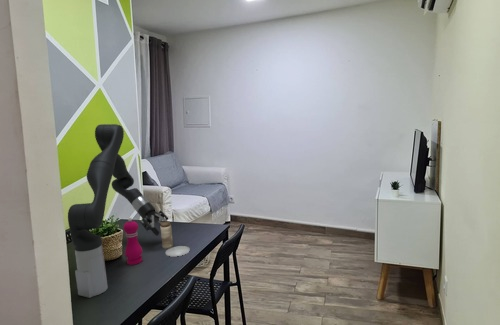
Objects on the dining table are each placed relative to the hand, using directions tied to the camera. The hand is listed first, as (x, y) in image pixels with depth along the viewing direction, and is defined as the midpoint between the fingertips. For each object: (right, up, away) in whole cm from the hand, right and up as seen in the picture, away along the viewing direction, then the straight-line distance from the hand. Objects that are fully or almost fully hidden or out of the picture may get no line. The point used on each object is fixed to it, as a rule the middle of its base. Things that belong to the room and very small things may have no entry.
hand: (164, 231), depth 170 cm
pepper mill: (-9, -11, -15) cm, 21 cm away
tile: (+8, -8, -7) cm, 13 cm away
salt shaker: (+2, -7, +1) cm, 8 cm away
